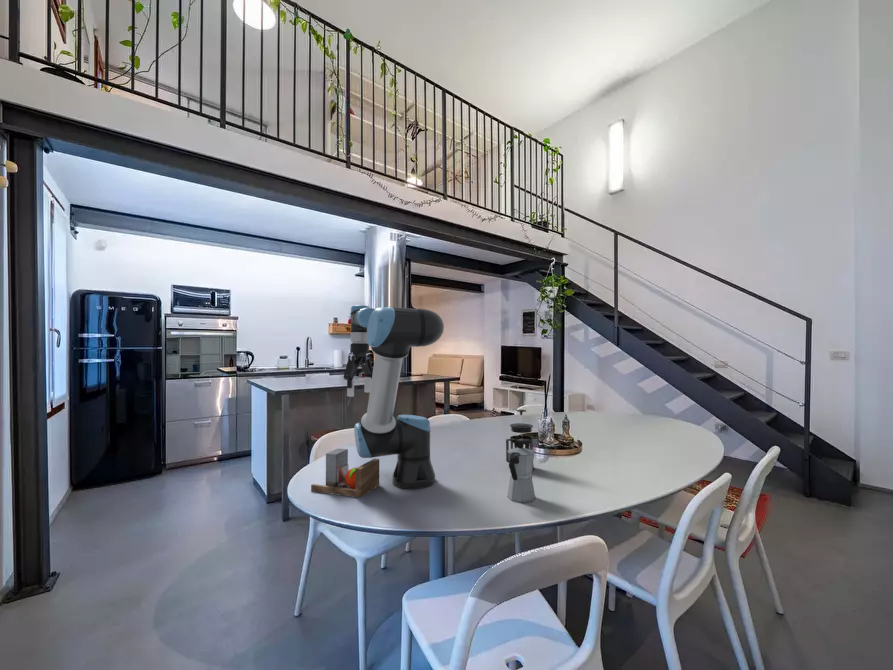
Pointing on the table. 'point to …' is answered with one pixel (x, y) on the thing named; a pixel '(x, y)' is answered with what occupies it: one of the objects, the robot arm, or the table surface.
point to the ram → (336, 467)
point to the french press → (520, 429)
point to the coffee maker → (521, 474)
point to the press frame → (356, 481)
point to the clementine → (351, 478)
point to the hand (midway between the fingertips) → (359, 394)
